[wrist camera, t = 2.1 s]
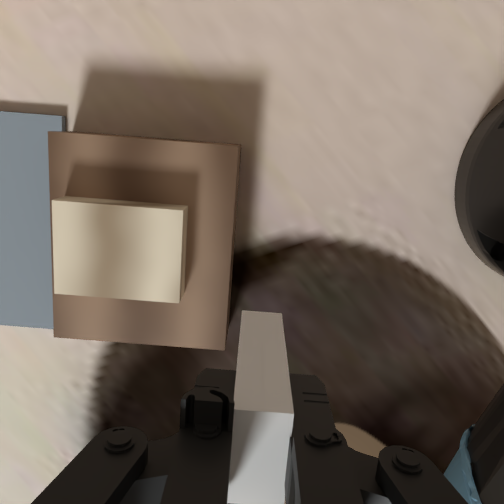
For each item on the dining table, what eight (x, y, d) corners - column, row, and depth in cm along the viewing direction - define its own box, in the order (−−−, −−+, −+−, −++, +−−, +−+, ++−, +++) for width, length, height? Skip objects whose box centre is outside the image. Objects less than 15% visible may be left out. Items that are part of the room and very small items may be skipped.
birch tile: (188, 205, 30) (183, 210, 28) (184, 293, 32) (179, 303, 30) (64, 195, 30) (51, 200, 28) (66, 283, 32) (54, 293, 30)
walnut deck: (241, 144, 33) (238, 146, 29) (228, 327, 37) (224, 350, 33) (72, 131, 33) (47, 131, 29) (75, 315, 37) (53, 337, 33)
